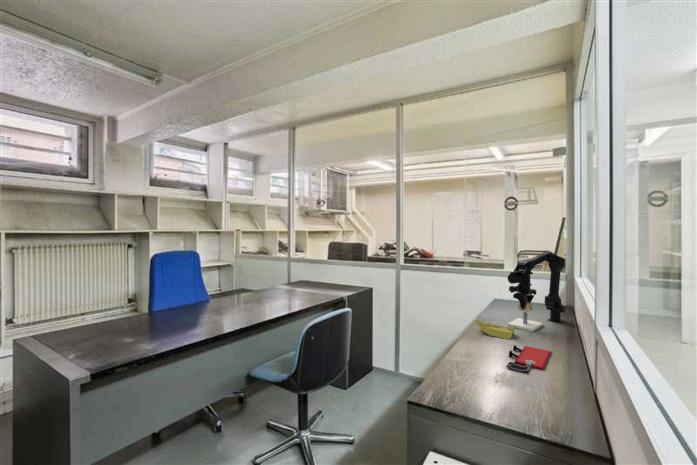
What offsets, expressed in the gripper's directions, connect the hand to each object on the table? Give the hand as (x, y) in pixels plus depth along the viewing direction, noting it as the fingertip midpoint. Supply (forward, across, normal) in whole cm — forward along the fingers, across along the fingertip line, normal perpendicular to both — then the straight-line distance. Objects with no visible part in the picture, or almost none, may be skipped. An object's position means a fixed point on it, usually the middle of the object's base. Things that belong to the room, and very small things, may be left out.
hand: (525, 308), depth 199 cm
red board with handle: (+11, +48, +20) cm, 53 cm away
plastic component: (+11, +24, -7) cm, 28 cm away
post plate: (+11, 0, 0) cm, 11 cm away
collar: (+1, 0, 0) cm, 1 cm away
